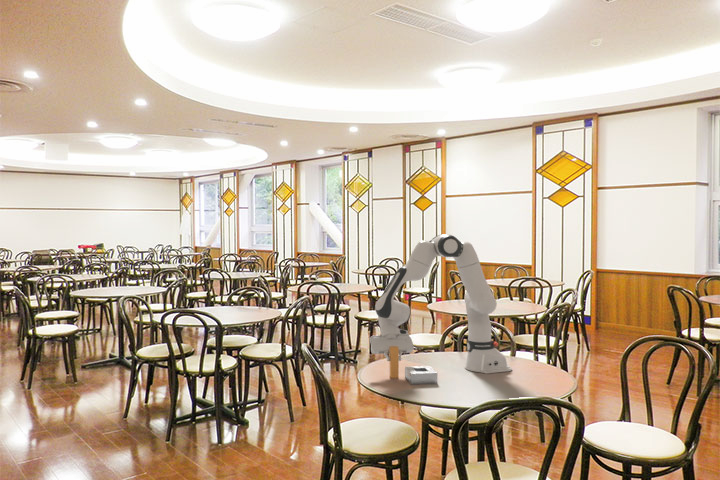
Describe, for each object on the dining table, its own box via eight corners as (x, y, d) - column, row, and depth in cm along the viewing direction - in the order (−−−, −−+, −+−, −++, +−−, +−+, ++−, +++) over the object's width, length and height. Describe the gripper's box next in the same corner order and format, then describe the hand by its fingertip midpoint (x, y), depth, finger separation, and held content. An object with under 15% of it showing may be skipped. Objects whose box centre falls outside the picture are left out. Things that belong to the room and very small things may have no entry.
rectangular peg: (396, 375, 248) (396, 346, 247) (398, 377, 244) (398, 347, 244) (389, 375, 247) (389, 346, 247) (391, 378, 244) (391, 348, 243)
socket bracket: (429, 375, 247) (429, 365, 247) (437, 383, 235) (437, 372, 235) (404, 376, 245) (404, 366, 245) (411, 384, 234) (411, 374, 233)
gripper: (369, 332, 250) (373, 357, 241) (411, 330, 253) (416, 356, 244) (368, 339, 255) (371, 364, 246) (409, 338, 258) (414, 363, 249)
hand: (394, 360), depth 245 cm, fingers closed on rectangular peg, 3 cm apart
